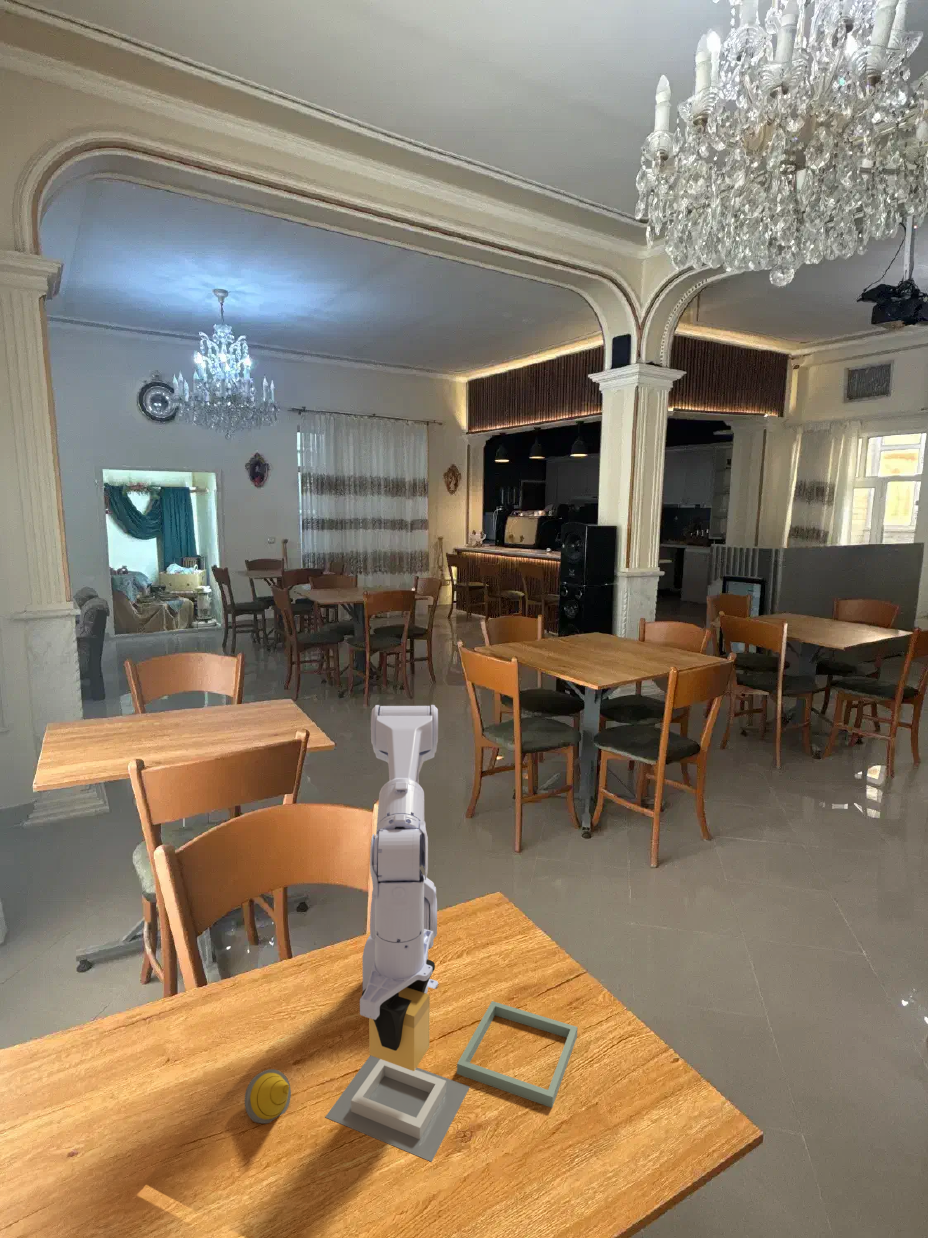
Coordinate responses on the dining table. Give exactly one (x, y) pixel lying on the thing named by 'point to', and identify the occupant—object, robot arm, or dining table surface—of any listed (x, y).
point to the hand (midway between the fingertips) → (399, 1033)
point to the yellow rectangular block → (406, 1033)
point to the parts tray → (508, 1082)
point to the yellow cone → (267, 1096)
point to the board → (400, 1106)
